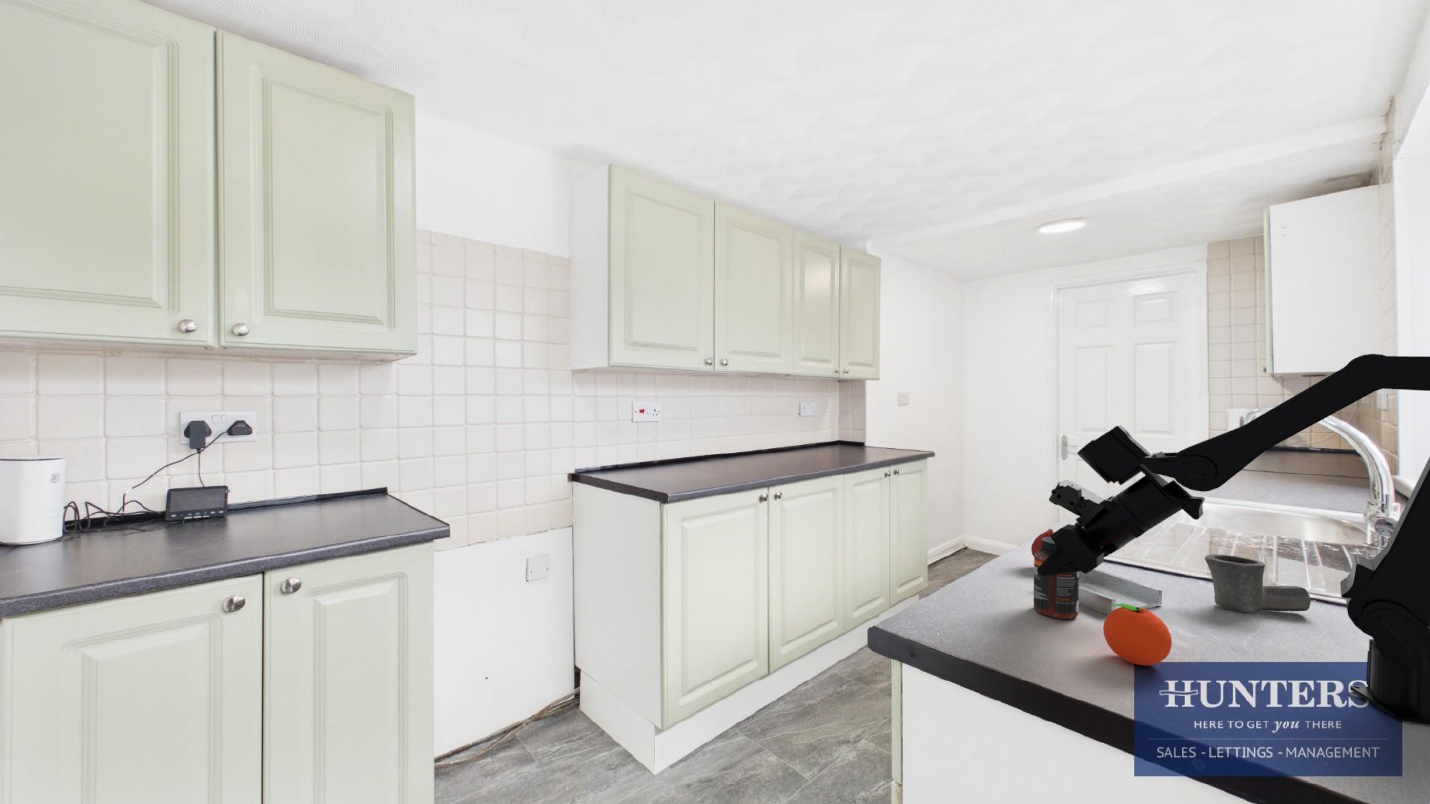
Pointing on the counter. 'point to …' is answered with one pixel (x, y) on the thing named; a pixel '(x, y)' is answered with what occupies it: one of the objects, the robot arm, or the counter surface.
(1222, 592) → the pipe
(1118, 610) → the clementine
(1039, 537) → the onion
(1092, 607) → the aluminium tray
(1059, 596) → the supplement bottle
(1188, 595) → the counter surface
